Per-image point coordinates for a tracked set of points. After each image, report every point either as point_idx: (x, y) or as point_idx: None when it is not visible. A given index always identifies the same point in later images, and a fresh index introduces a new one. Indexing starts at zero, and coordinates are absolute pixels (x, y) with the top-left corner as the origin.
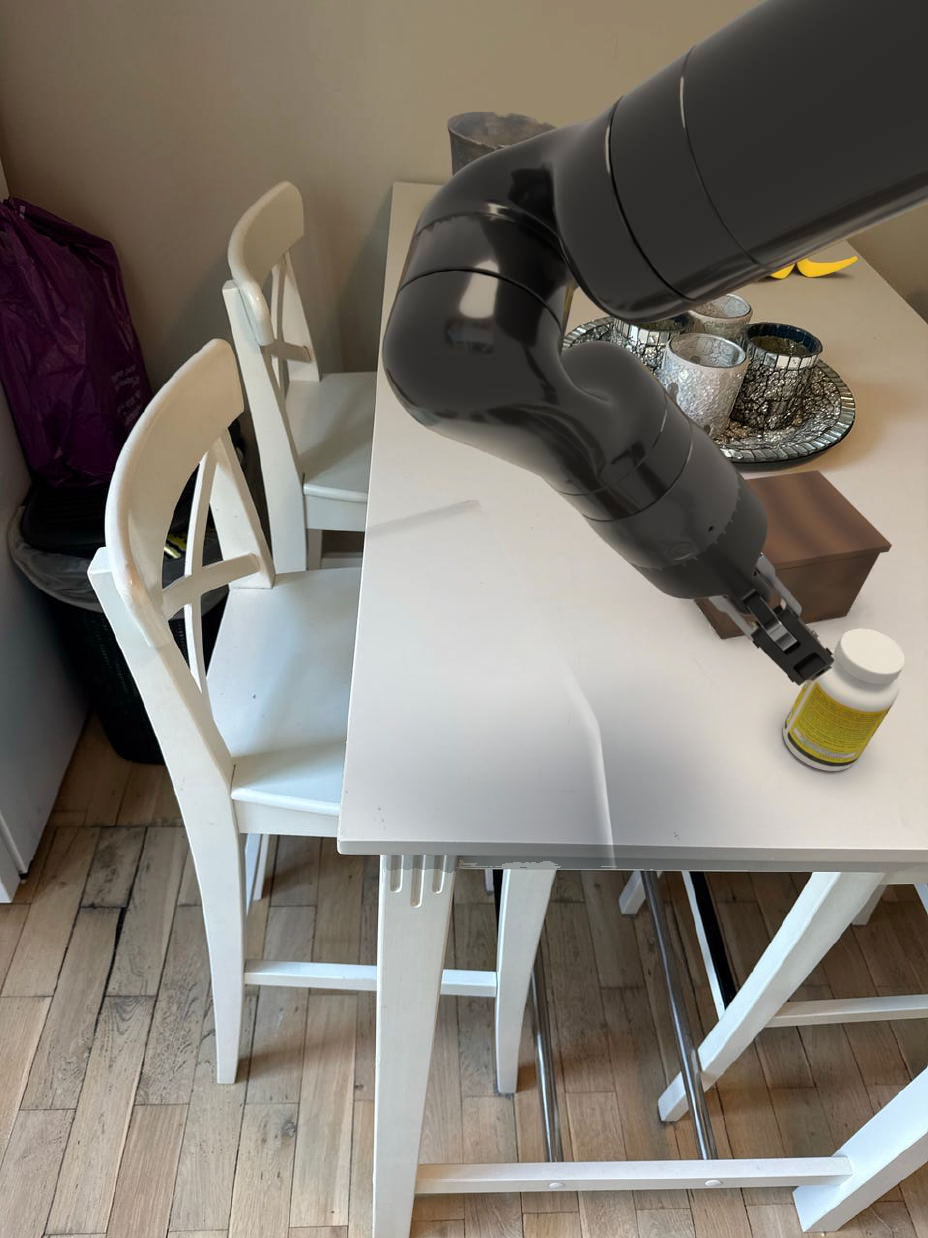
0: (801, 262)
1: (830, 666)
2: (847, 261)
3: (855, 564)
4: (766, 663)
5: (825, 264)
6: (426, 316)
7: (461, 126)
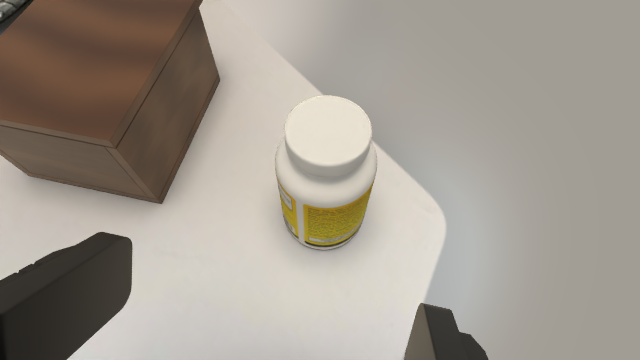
0: None
1: (485, 354)
2: None
3: (191, 36)
4: (216, 185)
5: None
6: None
7: None
